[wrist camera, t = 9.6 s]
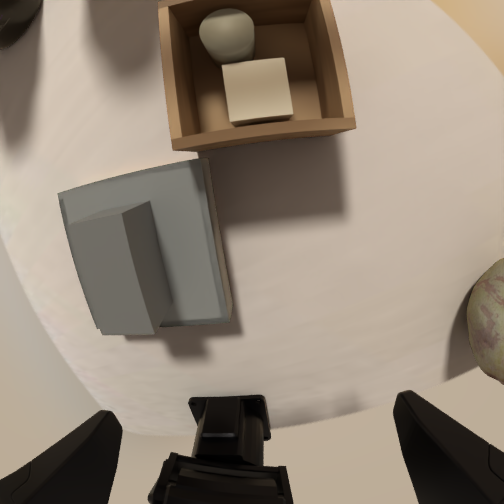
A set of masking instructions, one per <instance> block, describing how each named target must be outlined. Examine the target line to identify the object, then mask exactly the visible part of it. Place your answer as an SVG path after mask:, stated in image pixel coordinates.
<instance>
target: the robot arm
mask: <svg viewBox="0 0 504 504" xmlns="http://www.w3.org/2000/svg"><path fill="white" fill-rule="evenodd" d="M257 400H260V401H257ZM194 402H195V403H194ZM188 404H189V407H190V409H191V412H192V414H193V416H194V419H195V421H196V423H197V426H198V428H197V432H196V437H195V442H194V447H193V452H192V456H191V457H188V456H183V455H178V453H173V452H171V453H170V456H169V458H168V459H166V461H164V462H163V467H162V469H161V473H160V476H159V478H158V480H157V482H156V483H155V485H154V486H153V488H152V490H151V491H150V493H149V495H148V501H149V503H150V504H293V498H292V494H291V489H290V484H289V479H288V474H287V470H286V466H278V467H270V466H263V445H264V441H268V440H270V439H271V433H270V427H269V421H268V415H267V409H266V404H265V398H264V396H262V395H247V396H228V397H191V398H190V399H189V402H188ZM393 416H394V420H395V424H396V428H397V433H398V437H399V442H400V446H401V450H402V455H403V458H404V461H405V464H406V467H407V469H408V472H409V475H410V478H411V481H412V484H413V487H414V490H415V493H416V496H417V499H418V502H419V504H504V452H502V451H501V450H499V449H497V448H496V447H494V446H493V445H491V444H489V443H488V442H487V441H485V440H484V439H482V438H480V437H479V436H477V435H476V434H474V433H473V432H472V431H470V430H469V429H467V428H466V427H464V426H463V425H461V424H460V423H458V422H457V421H455V420H454V419H453V418H451V417H449V416H448V415H447V414H445V413H444V412H442V411H441V410H439V409H438V408H436V407H435V406H434V405H432V404H431V403H429V402H428V401H426V400H425V399H423V398H422V397H420V396H419V395H418V394H416V393H415V392H413V391H412V390H407V391H403V392H400V393H398V395H397V398H396V401H395V405H394V409H393ZM122 431H123V430H122V426H121V424H120V423H119V421H118V419H117V418H116V416H115V415H114V413H113V412H112V411H107V410H100V411H99V412H97V413H96V414H95V415H94V416H92V417H91V418H89V419H88V420H87V421H85V422H84V423H83V424H81V425H80V426H79V427H77V428H76V429H75V430H73V431H72V432H71V433H69V434H68V435H66V436H65V437H64V438H62V439H61V440H59V441H58V442H57V443H55V444H54V445H53V446H51V447H50V448H48V449H47V450H46V451H45V452H43V453H41V454H40V455H39V456H37V457H36V458H34V459H33V460H32V461H30V462H28V463H27V464H26V465H24V466H23V467H21V468H20V469H18V470H17V471H15V472H13V473H12V474H10V475H8V476H6V477H4V478H3V479H1V480H0V504H108V501H109V497H110V492H111V488H112V485H113V481H114V477H115V473H116V469H117V464H118V457H119V451H120V445H121V439H122Z"/></svg>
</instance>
